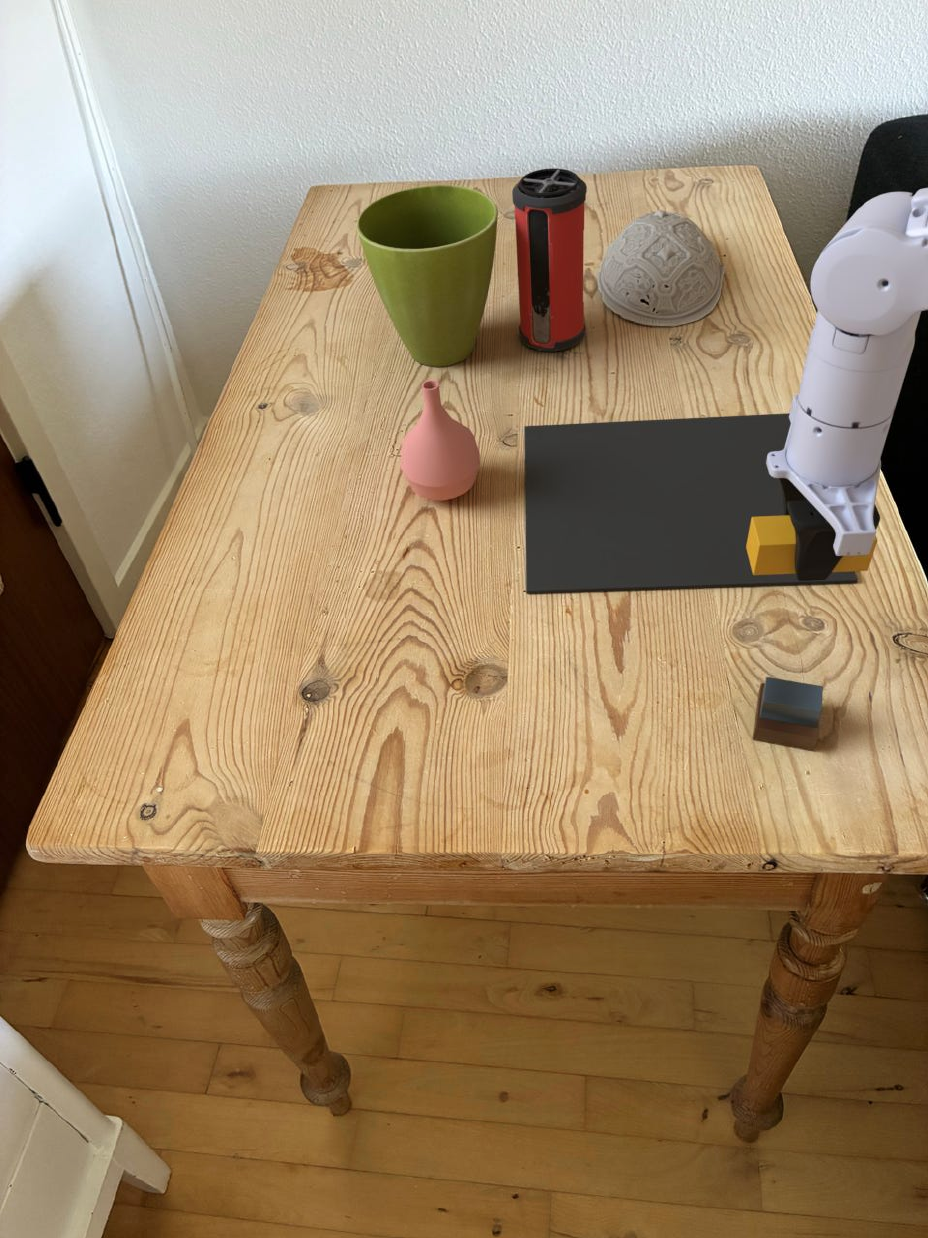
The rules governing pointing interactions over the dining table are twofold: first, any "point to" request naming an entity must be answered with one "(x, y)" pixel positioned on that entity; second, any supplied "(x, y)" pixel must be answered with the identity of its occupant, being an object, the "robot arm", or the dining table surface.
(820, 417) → the robot arm
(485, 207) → the flower pot
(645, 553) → the mat
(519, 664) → the dining table surface
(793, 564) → the bar
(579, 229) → the speaker
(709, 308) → the carved stone dome
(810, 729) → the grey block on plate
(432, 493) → the pink bud vase
